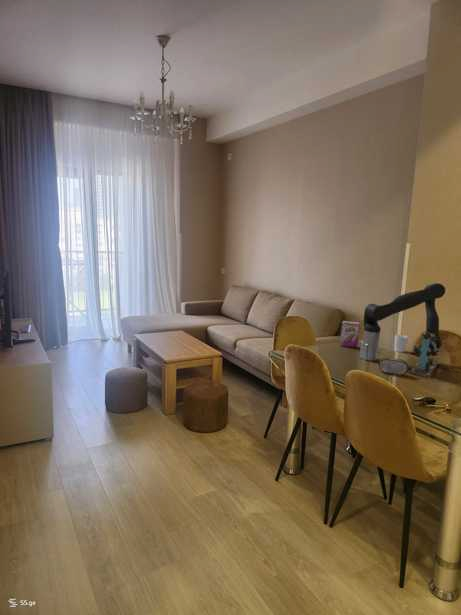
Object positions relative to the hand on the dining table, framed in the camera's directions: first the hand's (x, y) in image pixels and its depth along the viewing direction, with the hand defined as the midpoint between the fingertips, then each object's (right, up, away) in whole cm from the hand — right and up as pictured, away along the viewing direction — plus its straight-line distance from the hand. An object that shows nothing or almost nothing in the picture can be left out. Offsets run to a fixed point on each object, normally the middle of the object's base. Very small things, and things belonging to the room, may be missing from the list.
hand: (423, 353), depth 231 cm
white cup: (+8, -4, +52) cm, 53 cm away
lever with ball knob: (+2, -10, +7) cm, 12 cm away
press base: (+7, -10, +14) cm, 19 cm away
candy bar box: (-25, -1, +56) cm, 61 cm away
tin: (-16, -11, +2) cm, 20 cm away
